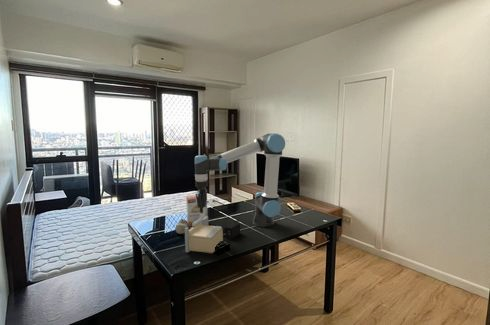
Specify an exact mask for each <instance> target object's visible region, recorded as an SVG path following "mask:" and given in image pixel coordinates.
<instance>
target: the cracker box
mask: <svg viewBox="0 0 490 325" xmlns="http://www.w3.org/2000/svg"><path fill="white" fill-rule="evenodd" d="M185 196H186V195H185ZM185 199H186V221H187V222H188V224H192V223H193V222H195V221H196V220H197V219H199V218H200V208H198V205H197V199H196V195H187V196H186V198H185ZM205 206H206V207H205V217H206V216H208V201H207V202H206V205H205Z"/></svg>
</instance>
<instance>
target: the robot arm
mask: <svg viewBox="0 0 490 325" xmlns="http://www.w3.org/2000/svg"><path fill="white" fill-rule="evenodd" d="M285 148H286V140H285V138H284V136H282V135H281V134H280V133H266V134H264V135H262V136H259V137H257V138H254V140H253V141H251V142H249V143H246V144H243V145H240V146H239V147H236V148H233V149H230V150H227V151H225V152H222V153H220V154H217V155H213V156H211V157H210V158H208V156H207V155H203V154H202V155H201V154H200V155H196V156H195V157H194V177H195V178H194V180H195V182H194V184H195V186H194V187H195V188H197V192H196V193H195V195H196V199H197V205H198V208H200V217H203V218H205V207H206V206H205V205H206V202H207V203H208V192H209V190H208V189H206V188H207V187H208V183H209V182H208V179H209V178H208V171H209V172H210V171H213V172H214V171H226V169H227V165H228V164H229V163H232V162H234V161H237V160H240V159H241V158H245V157H247V156H250V155H252V154H255V153H257V152H258V153H261V152H263V153H264V156H265V158H266V159H265V170H264V186H263V187H264V188H263V189H264V190H263V191H258V192H256V193H255V196H254V197H255V198H254V201H255V202H254V203H255V204H254V206H255V212H254V216H253V219H252V224H253V225H254V226H255V227H258V228H259V227H260V228H268V227H271V226H274V224H275V219H274V217H276V216H278V215H279V214H280V212H281V209H282V207H281V204H280V201H279V200H280V195H279V194H278V184H279V183H278V182H279V172H280V171H279V169H280V158H281V157H282V155H283V150H284V149H285ZM195 195H194V196H195Z"/></svg>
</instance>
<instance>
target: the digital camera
mask: <svg viewBox="0 0 490 325" xmlns="http://www.w3.org/2000/svg"><path fill="white" fill-rule="evenodd" d="M224 233H225V238H226V239H229V240H232V239H234V238H235V237H237V236H238V235H240V234H241V223H239V222H233V223H231V224H229V225H225V227H224Z"/></svg>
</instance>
